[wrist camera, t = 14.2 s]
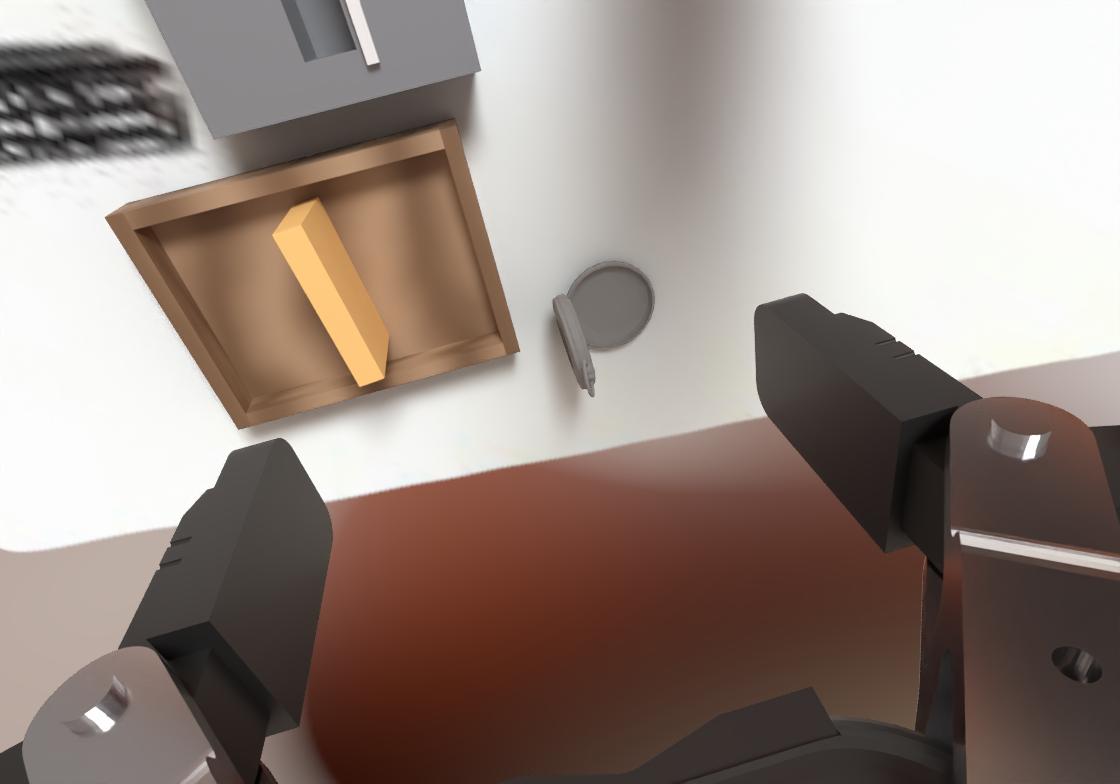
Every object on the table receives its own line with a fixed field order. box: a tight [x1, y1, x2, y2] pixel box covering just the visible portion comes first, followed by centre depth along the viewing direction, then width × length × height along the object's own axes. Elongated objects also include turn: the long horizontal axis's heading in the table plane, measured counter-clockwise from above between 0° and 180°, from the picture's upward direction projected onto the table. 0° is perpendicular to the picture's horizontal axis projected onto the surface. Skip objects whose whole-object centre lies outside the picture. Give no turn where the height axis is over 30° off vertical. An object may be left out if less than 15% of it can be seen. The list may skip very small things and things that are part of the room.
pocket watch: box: [553, 261, 654, 397], centre depth 41 cm, size 8×8×10 cm
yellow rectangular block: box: [272, 197, 389, 387], centre depth 37 cm, size 2×6×10 cm
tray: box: [105, 118, 520, 430], centre depth 39 cm, size 20×15×3 cm
